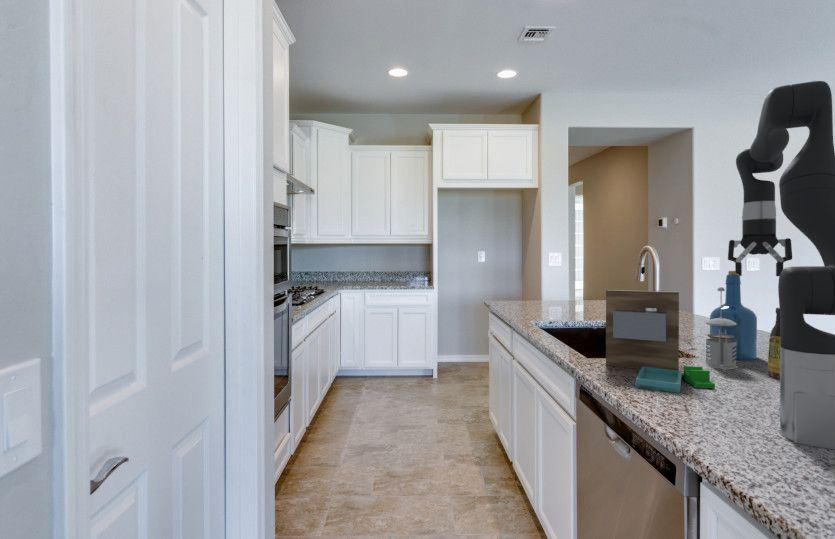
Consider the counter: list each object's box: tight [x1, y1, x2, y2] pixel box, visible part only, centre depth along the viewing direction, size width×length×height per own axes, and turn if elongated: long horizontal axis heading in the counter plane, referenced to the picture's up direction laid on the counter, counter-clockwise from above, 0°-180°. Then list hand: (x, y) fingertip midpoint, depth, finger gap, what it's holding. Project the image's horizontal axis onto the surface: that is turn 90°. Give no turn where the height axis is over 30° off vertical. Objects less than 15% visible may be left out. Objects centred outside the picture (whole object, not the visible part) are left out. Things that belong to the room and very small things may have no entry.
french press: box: [703, 287, 739, 370], centre depth 137 cm, size 10×12×25 cm
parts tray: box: [635, 367, 683, 394], centre depth 119 cm, size 16×10×2 cm, turn 147°
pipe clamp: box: [682, 365, 716, 389], centre depth 119 cm, size 11×4×5 cm
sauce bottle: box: [767, 307, 781, 380], centre depth 123 cm, size 7×6×20 cm
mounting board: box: [605, 289, 680, 371], centre depth 135 cm, size 2×20×24 cm, turn 58°
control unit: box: [613, 308, 667, 342], centre depth 132 cm, size 6×14×9 cm, turn 57°
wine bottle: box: [709, 270, 758, 361], centre depth 149 cm, size 14×13×30 cm
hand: (758, 275), depth 124 cm, fingers open, 8 cm apart
